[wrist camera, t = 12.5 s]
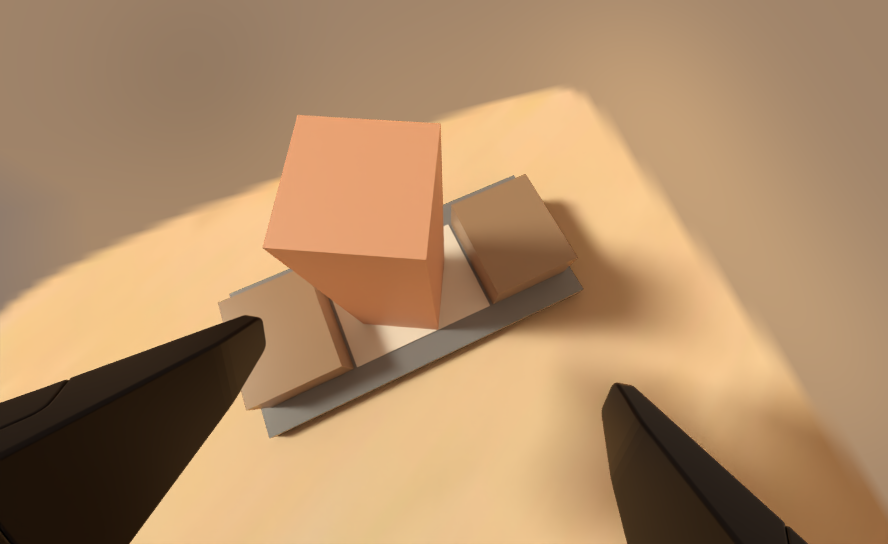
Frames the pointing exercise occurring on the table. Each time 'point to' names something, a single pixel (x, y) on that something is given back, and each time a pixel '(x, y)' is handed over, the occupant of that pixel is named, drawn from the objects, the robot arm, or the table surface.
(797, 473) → the table surface
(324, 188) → the wooden post
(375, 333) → the rail
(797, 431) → the table surface
